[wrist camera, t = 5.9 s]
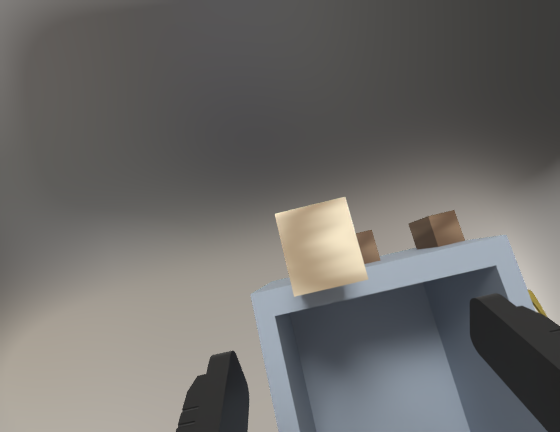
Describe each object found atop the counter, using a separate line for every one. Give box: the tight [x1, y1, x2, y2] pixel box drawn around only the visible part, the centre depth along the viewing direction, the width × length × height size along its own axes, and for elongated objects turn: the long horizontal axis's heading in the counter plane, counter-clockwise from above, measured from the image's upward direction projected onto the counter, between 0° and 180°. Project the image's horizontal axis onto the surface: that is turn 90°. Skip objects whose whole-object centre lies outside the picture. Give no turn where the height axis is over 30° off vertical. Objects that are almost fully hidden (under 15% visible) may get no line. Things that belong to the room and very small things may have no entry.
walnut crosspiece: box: [356, 210, 465, 264], centre depth 29 cm, size 10×5×3 cm, turn 86°
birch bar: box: [275, 197, 369, 297], centre depth 24 cm, size 4×22×4 cm, turn 176°
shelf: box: [251, 235, 548, 432], centre depth 26 cm, size 20×16×32 cm
